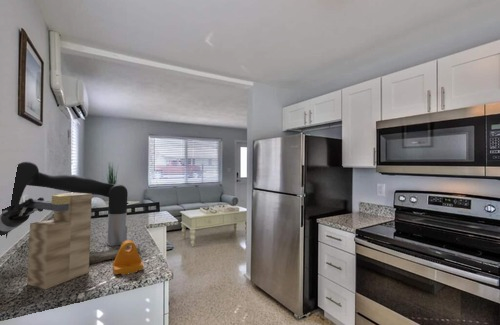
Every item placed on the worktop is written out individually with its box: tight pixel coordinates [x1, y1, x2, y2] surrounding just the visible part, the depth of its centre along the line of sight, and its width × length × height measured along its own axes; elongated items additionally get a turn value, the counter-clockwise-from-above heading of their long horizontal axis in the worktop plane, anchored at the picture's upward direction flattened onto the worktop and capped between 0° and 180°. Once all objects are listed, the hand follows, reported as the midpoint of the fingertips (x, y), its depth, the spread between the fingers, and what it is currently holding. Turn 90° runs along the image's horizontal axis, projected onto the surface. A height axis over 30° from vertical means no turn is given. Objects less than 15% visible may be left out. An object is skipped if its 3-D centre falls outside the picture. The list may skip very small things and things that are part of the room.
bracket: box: [112, 239, 144, 276], centre depth 106 cm, size 11×7×12 cm, turn 123°
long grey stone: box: [89, 246, 140, 265], centre depth 117 cm, size 35×5×10 cm
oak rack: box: [26, 192, 93, 290], centre depth 98 cm, size 10×16×32 cm, turn 160°
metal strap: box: [24, 194, 71, 212], centre depth 95 cm, size 20×4×6 cm, turn 70°
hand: (37, 200), depth 97 cm, fingers closed on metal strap, 3 cm apart
